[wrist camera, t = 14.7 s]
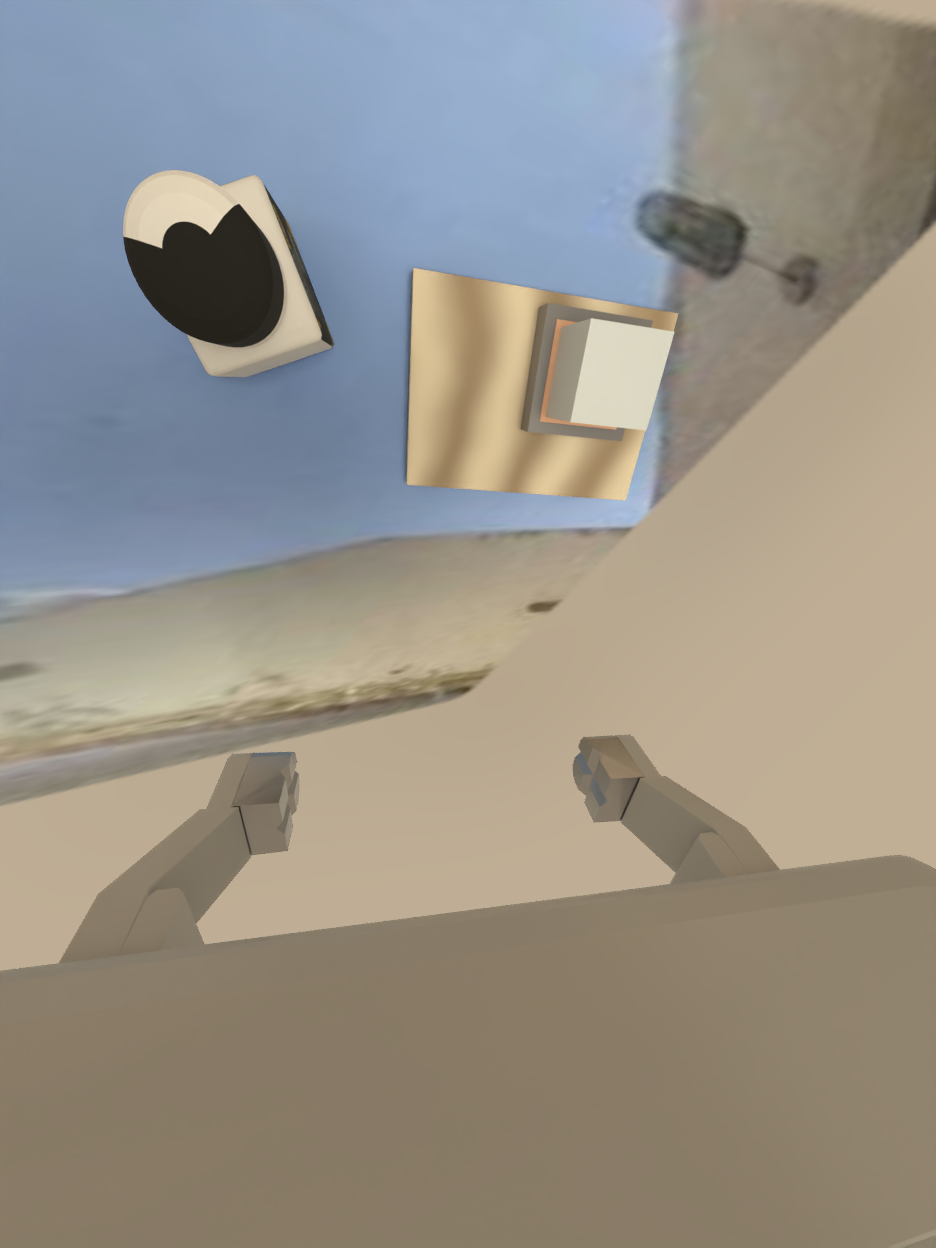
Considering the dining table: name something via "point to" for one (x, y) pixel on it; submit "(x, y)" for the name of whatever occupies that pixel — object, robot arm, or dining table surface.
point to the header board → (506, 391)
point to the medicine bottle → (223, 271)
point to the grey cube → (607, 373)
